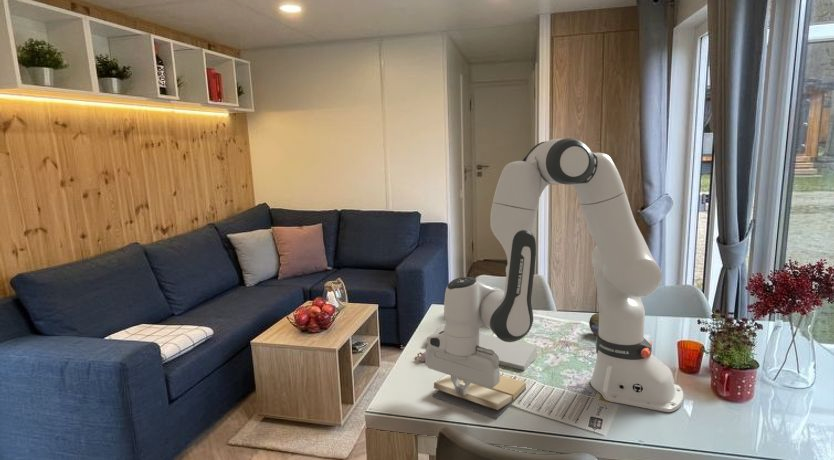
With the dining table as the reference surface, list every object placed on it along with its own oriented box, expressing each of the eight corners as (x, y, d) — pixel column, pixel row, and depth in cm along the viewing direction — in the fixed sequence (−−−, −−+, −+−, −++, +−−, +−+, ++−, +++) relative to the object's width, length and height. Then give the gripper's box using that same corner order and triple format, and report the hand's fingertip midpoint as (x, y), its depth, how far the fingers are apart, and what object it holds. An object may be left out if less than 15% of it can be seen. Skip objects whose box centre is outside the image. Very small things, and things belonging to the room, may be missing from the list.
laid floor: (526, 389, 130) (526, 381, 130) (496, 419, 117) (496, 411, 117) (465, 371, 142) (465, 364, 141) (432, 396, 128) (432, 389, 128)
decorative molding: (525, 379, 142) (537, 357, 149) (523, 366, 140) (536, 345, 147) (428, 353, 161) (443, 336, 168) (425, 342, 159) (440, 324, 166)
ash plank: (511, 401, 123) (511, 395, 123) (497, 409, 117) (498, 403, 117) (449, 381, 135) (449, 376, 135) (433, 388, 129) (434, 382, 128)
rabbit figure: (414, 368, 148) (461, 366, 143) (410, 350, 147) (457, 347, 142) (420, 359, 154) (466, 356, 149) (417, 341, 153) (462, 338, 148)
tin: (588, 334, 164) (589, 310, 163) (593, 331, 166) (594, 308, 165) (631, 347, 153) (632, 322, 151) (636, 344, 155) (637, 319, 153)
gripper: (505, 347, 117) (503, 399, 119) (435, 328, 129) (435, 376, 131) (492, 356, 112) (491, 411, 114) (421, 336, 124) (422, 386, 126)
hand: (461, 392), depth 123 cm, fingers closed, pressing on ash plank
